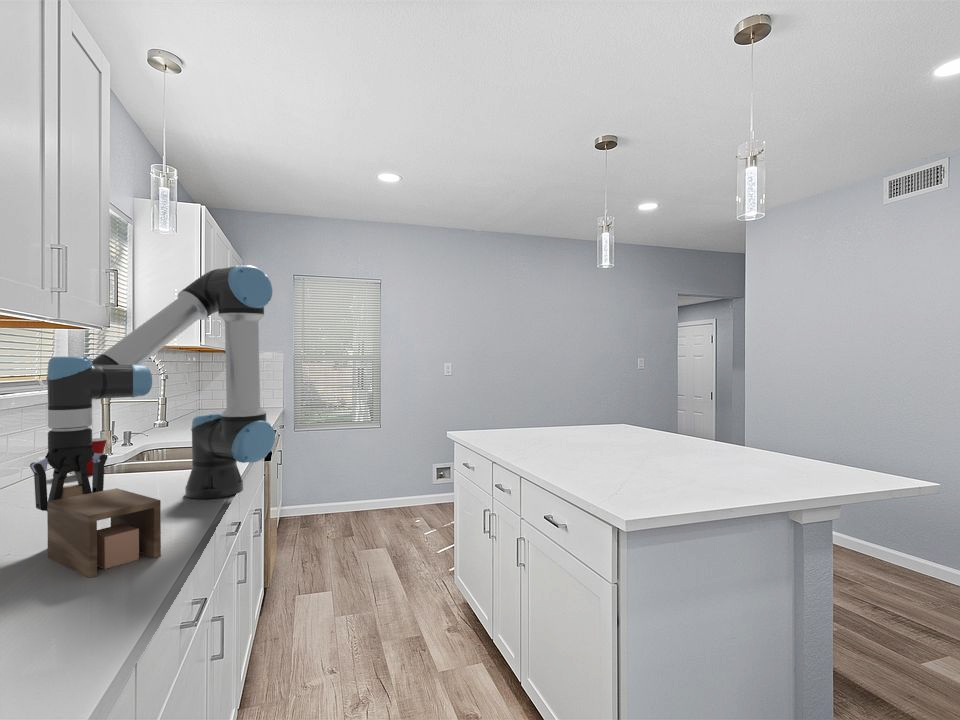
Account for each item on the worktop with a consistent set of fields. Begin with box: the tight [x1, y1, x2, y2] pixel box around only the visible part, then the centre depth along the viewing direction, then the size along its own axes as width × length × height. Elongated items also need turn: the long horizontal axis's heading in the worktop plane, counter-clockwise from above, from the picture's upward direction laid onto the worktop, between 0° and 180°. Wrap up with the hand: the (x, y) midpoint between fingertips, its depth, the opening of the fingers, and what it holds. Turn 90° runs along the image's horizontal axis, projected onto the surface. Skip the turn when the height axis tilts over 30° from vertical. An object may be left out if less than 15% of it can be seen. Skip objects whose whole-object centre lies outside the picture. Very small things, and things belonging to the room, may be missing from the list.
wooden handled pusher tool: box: [61, 484, 140, 570], centre depth 109 cm, size 6×24×12 cm, turn 58°
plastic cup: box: [86, 437, 109, 476], centre depth 182 cm, size 11×11×12 cm
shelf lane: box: [46, 488, 162, 578], centre depth 107 cm, size 12×18×11 cm
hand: (70, 537), depth 115 cm, fingers closed on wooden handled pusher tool, 4 cm apart
